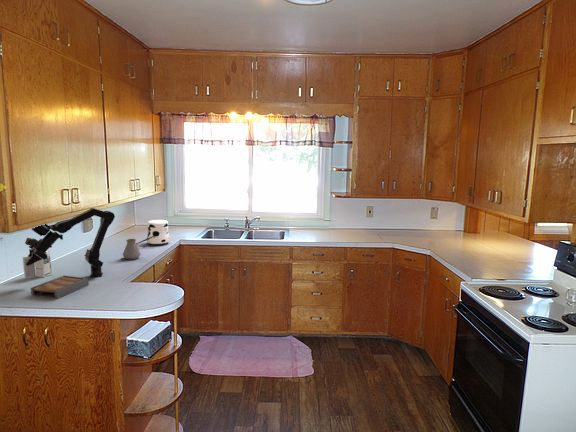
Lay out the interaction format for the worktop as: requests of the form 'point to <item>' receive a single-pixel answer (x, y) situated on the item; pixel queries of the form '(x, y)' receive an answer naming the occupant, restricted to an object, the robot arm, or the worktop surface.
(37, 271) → the syrup box
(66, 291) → the frame
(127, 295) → the worktop surface
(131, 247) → the coffee pot
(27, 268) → the stone
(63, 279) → the trapdoor
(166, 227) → the milk container
